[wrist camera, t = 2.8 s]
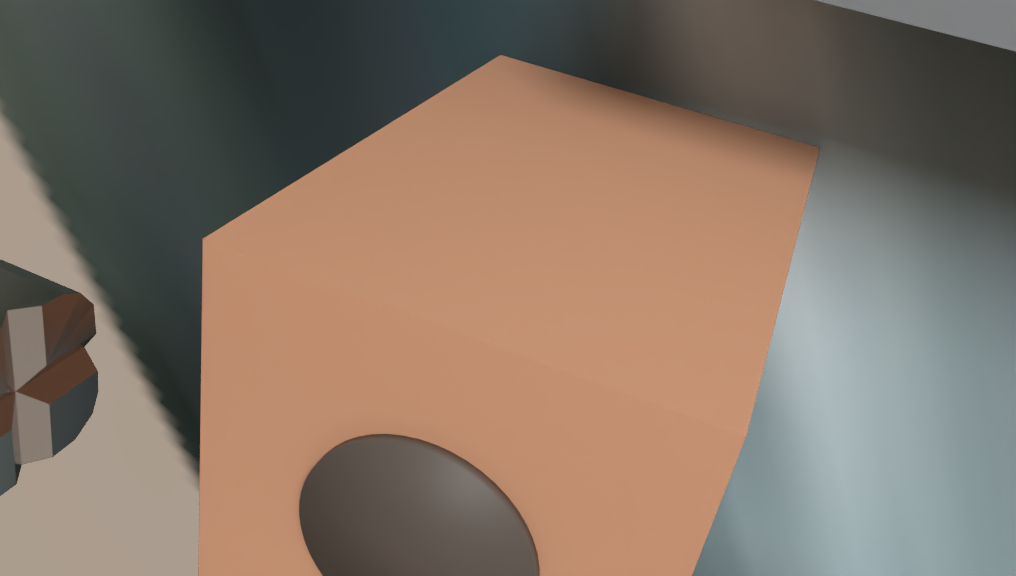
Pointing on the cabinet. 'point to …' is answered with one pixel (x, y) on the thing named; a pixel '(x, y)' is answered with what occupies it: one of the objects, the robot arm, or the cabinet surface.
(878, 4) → the tray
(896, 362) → the cabinet surface
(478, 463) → the terracotta block
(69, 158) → the cabinet surface
